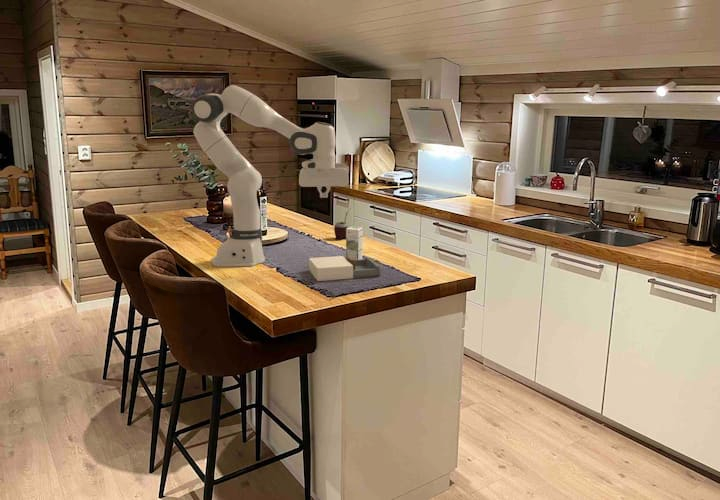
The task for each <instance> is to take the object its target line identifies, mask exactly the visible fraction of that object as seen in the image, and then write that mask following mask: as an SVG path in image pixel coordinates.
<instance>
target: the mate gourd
mask: <svg viewBox="0 0 720 500" xmlns="http://www.w3.org/2000/svg"><path fill="white" fill-rule="evenodd" d="M350 210H351V208H348V210H347V212H346V213H345V217H344V220H343V222H342V221H340V222H339V221H338V222H336V223H335V224H334V227H333V230H334V231H333V232H334V235H335V238H334V239H335V240H339V241H342V240H346V229H347V228H348V227H349V225H348V223H347V222H346V220H347V216H348V213H349V212H350Z"/></svg>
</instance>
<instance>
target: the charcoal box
mask: <svg viewBox="0 0 720 500" xmlns="http://www.w3.org/2000/svg"><path fill="white" fill-rule="evenodd" d="M380 271H381V267H380V265H379V264H378V263H376V262H375V261H373V260H372V259H371V258H370V257H369V256H365V257H364V258H362V259H360V260H355V270H353V278H352V279H359V278H361V279H363V278H362V277H364V278H372V277H371V276H377V277H380V276H381V275H380V273H381V272H380Z"/></svg>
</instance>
